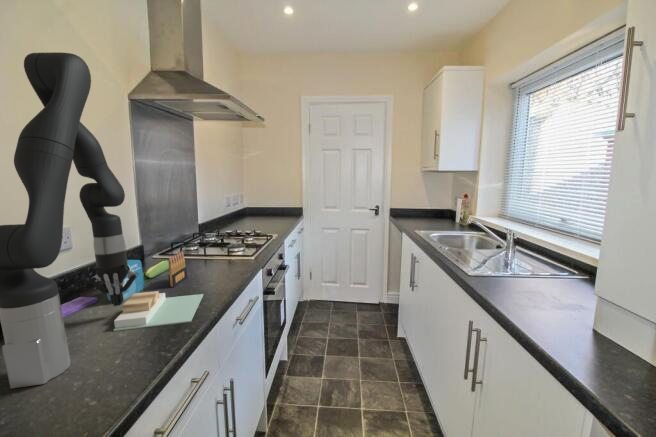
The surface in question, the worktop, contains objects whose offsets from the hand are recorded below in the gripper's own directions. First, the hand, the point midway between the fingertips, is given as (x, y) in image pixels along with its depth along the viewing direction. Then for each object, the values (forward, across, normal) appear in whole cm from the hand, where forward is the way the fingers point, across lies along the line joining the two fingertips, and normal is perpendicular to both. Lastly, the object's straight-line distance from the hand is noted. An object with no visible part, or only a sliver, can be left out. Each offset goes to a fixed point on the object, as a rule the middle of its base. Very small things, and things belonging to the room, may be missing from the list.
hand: (118, 304), depth 91 cm
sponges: (+4, -18, +10) cm, 21 cm away
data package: (+4, -4, +17) cm, 18 cm away
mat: (+4, +13, 0) cm, 13 cm away
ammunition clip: (+4, +11, +26) cm, 28 cm away
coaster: (+1, +7, 0) cm, 7 cm away
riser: (+4, +7, 0) cm, 8 cm away
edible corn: (+4, -1, +39) cm, 39 cm away
